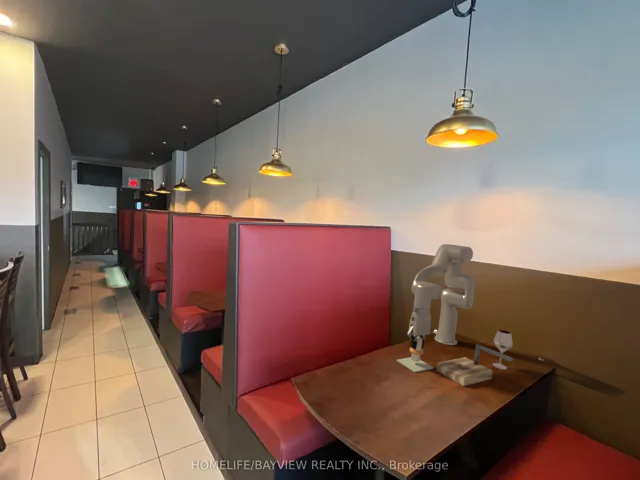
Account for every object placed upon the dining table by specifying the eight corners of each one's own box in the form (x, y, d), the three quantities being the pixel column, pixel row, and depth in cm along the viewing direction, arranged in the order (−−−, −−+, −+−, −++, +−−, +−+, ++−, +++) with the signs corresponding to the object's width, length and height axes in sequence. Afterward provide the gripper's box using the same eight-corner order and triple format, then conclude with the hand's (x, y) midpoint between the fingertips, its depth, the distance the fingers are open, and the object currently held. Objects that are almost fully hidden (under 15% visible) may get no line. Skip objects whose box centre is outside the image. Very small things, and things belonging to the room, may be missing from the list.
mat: (396, 360, 150) (396, 359, 150) (414, 357, 156) (414, 356, 156) (415, 372, 140) (415, 371, 140) (433, 368, 146) (433, 367, 146)
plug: (405, 357, 149) (408, 336, 149) (415, 356, 152) (417, 334, 152) (415, 363, 144) (418, 341, 143) (425, 361, 147) (428, 339, 146)
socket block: (436, 370, 144) (437, 362, 144) (464, 364, 154) (465, 357, 154) (463, 386, 132) (464, 377, 132) (491, 378, 142) (492, 370, 141)
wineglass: (504, 364, 160) (508, 330, 159) (512, 371, 152) (517, 335, 151) (487, 361, 161) (492, 328, 160) (495, 369, 153) (499, 333, 152)
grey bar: (472, 363, 147) (475, 344, 146) (475, 362, 148) (477, 344, 147) (508, 379, 133) (511, 359, 133) (510, 378, 135) (513, 358, 134)
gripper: (414, 313, 139) (409, 353, 140) (439, 311, 147) (435, 349, 148) (402, 308, 146) (398, 346, 147) (427, 307, 154) (423, 342, 155)
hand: (416, 347), depth 148 cm, fingers closed on plug, 4 cm apart
